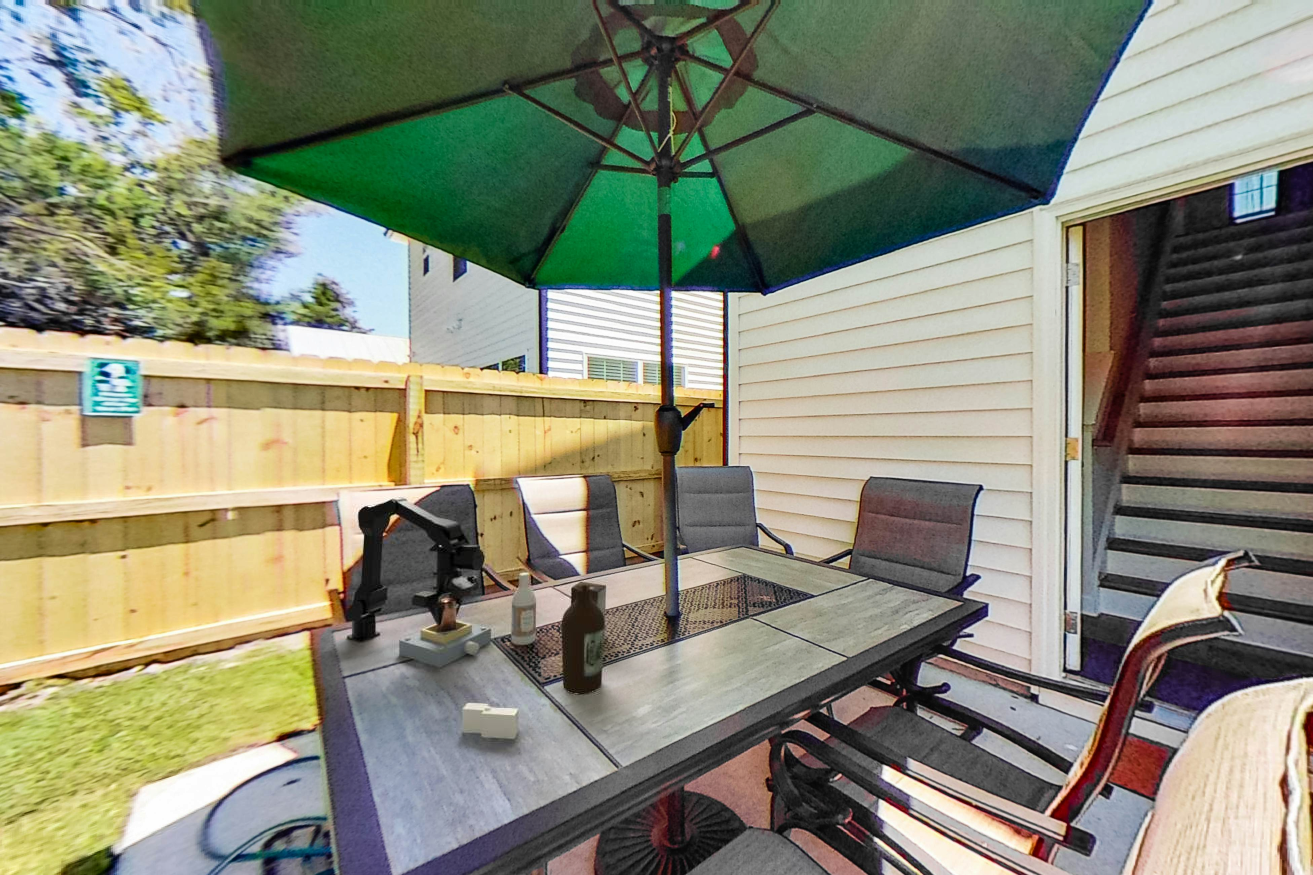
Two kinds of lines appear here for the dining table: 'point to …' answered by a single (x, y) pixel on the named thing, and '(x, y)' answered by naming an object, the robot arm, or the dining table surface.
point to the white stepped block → (490, 721)
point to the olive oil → (582, 643)
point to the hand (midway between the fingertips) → (446, 621)
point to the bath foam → (523, 613)
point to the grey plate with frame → (444, 643)
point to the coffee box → (593, 596)
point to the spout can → (448, 615)
